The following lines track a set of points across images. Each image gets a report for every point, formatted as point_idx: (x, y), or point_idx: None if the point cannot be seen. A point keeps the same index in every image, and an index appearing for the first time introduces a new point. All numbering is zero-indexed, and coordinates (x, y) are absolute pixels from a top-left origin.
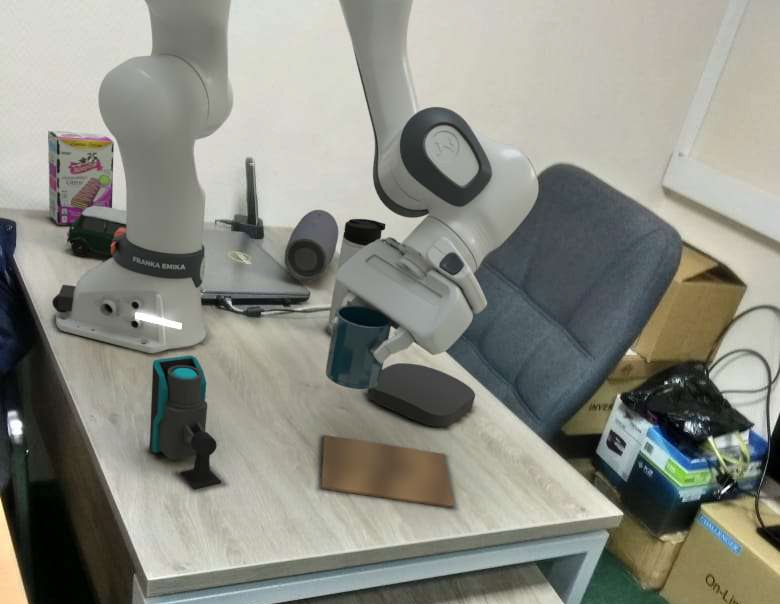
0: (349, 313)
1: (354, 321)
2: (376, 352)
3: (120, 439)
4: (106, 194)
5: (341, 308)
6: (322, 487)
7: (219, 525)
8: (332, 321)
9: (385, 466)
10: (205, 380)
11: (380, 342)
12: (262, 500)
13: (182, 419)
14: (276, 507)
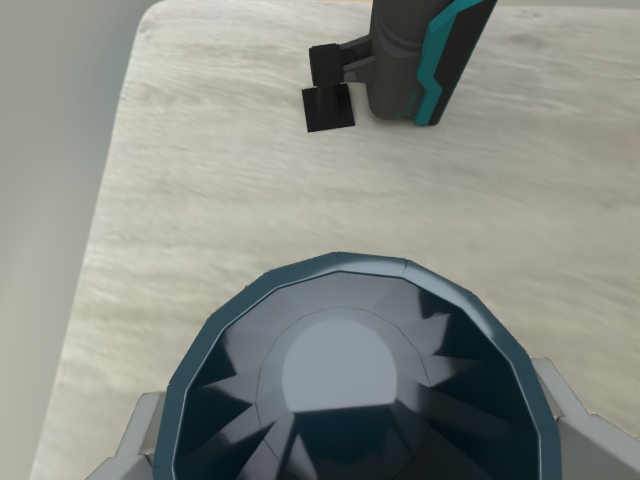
0: (514, 434)
1: (490, 467)
2: (143, 399)
3: None
4: None
5: (494, 346)
6: (246, 286)
7: (208, 96)
8: (540, 359)
9: None
10: (436, 29)
11: (154, 447)
12: (246, 175)
13: (371, 21)
14: (222, 188)
